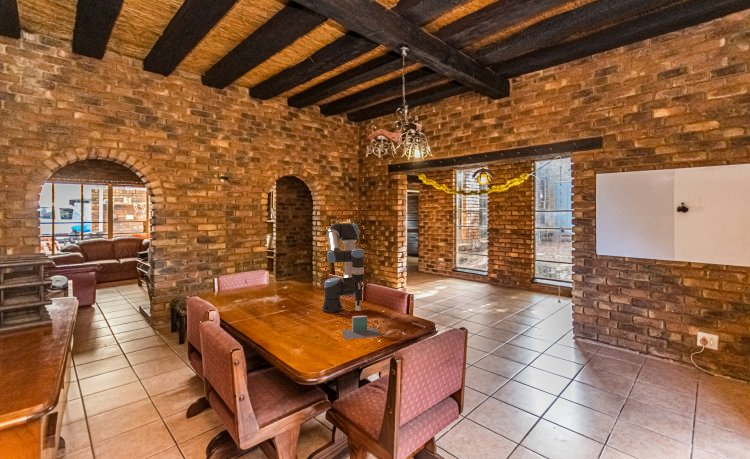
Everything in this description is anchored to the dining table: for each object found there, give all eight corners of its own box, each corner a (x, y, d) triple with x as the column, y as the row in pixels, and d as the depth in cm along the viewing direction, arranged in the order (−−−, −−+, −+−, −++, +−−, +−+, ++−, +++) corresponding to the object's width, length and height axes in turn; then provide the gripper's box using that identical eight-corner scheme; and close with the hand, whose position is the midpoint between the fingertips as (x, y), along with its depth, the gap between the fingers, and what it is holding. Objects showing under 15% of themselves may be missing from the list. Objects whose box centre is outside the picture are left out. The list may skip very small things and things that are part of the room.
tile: (352, 330, 206) (352, 316, 206) (366, 329, 208) (366, 315, 208) (352, 332, 204) (352, 317, 204) (367, 330, 206) (367, 316, 205)
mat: (341, 331, 207) (341, 330, 207) (376, 328, 212) (376, 327, 211) (344, 340, 193) (344, 339, 193) (381, 337, 198) (381, 336, 198)
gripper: (350, 271, 217) (350, 307, 219) (353, 275, 204) (353, 313, 206) (361, 271, 219) (362, 306, 220) (365, 275, 206) (365, 312, 207)
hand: (357, 310), depth 213 cm, fingers closed
